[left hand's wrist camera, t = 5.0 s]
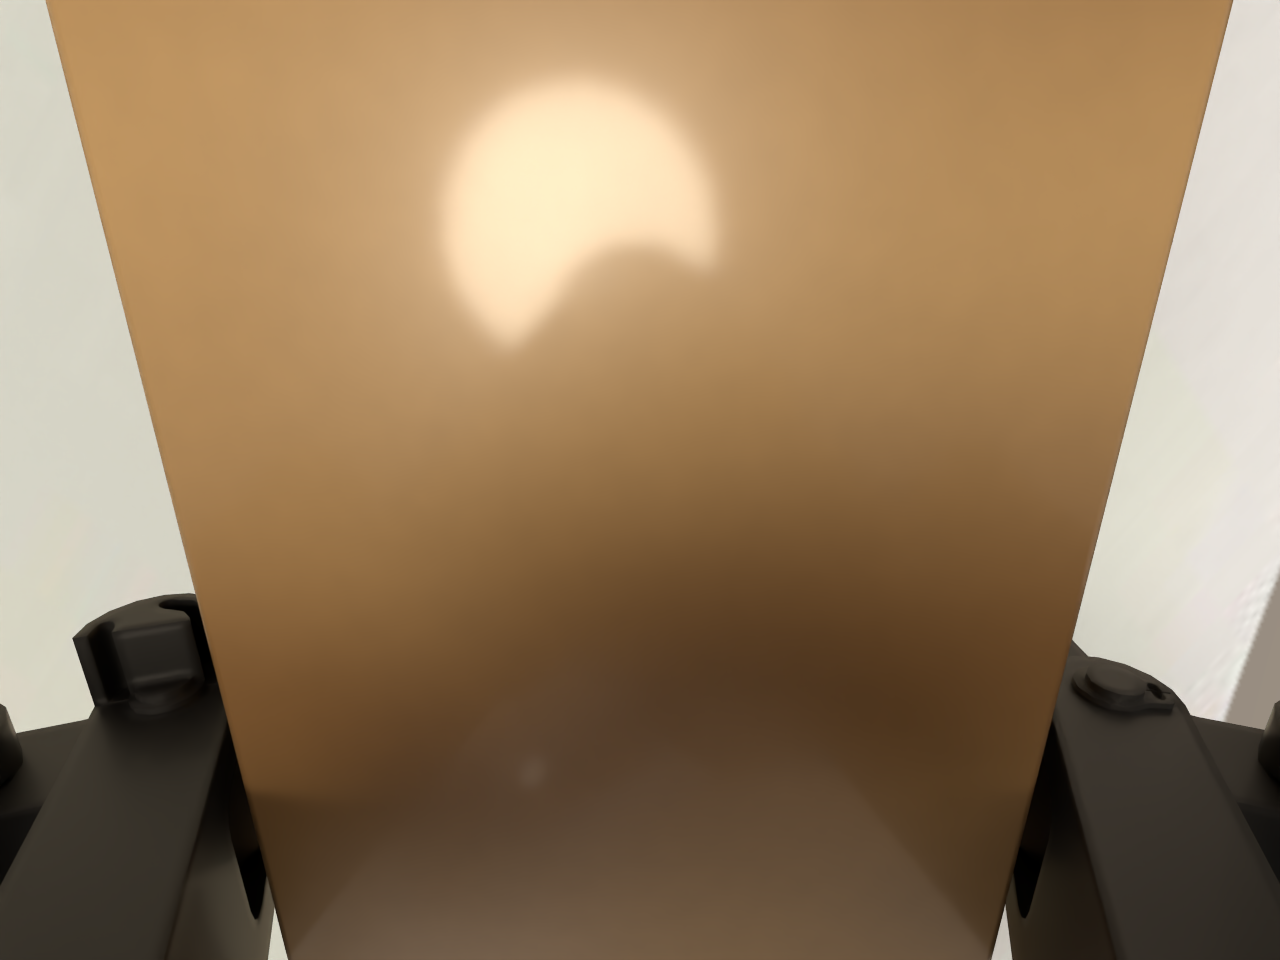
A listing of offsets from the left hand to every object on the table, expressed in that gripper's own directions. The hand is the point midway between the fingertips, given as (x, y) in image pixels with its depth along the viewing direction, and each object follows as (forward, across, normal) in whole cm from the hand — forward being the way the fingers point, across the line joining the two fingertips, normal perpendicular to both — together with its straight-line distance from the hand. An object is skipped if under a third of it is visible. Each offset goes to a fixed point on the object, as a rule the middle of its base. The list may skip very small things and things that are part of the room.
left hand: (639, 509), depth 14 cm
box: (0, 0, -7) cm, 7 cm away
